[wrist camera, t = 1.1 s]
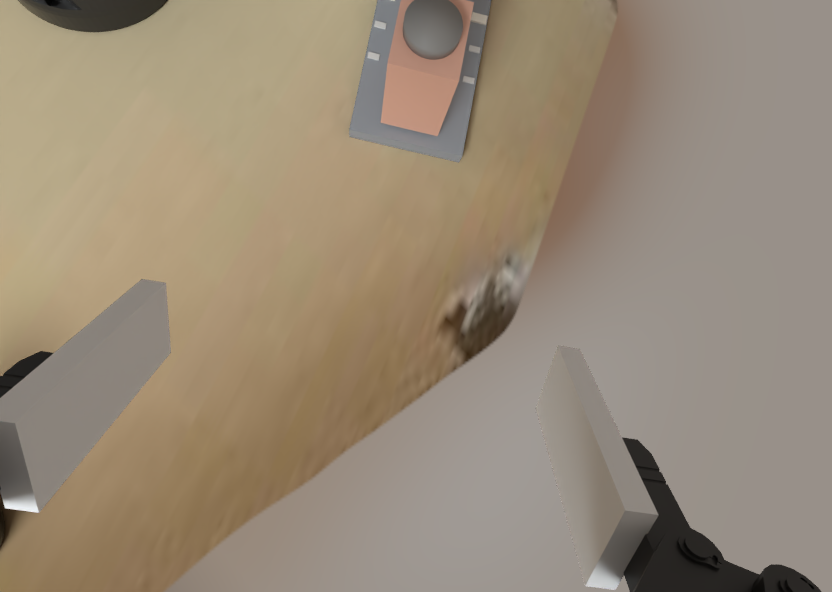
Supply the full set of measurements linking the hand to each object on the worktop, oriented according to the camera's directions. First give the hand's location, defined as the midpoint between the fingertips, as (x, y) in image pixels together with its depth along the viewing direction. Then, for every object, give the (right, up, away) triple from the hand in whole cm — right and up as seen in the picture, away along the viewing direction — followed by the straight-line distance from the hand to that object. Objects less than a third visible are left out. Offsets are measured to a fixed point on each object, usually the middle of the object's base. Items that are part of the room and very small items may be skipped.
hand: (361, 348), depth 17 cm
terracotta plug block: (+2, +19, +27) cm, 33 cm away
